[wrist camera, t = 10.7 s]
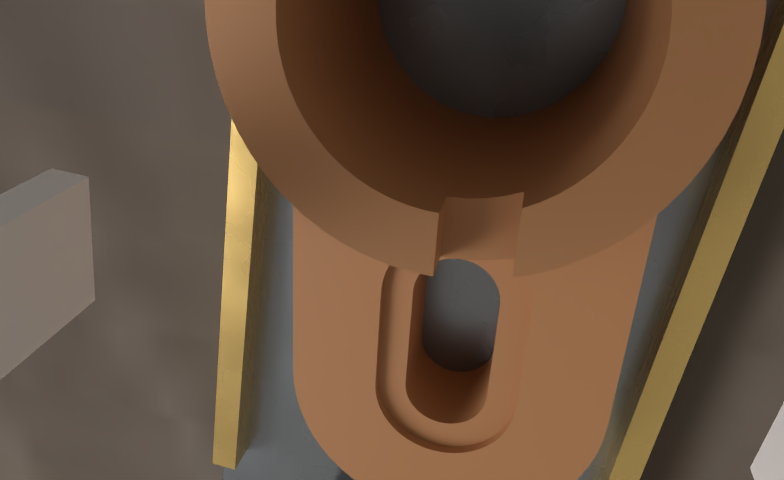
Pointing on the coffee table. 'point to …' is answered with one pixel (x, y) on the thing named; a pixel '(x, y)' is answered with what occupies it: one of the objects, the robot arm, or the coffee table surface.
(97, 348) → the coffee table surface
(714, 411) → the coffee table surface
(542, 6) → the coupling bench
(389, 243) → the bracket
